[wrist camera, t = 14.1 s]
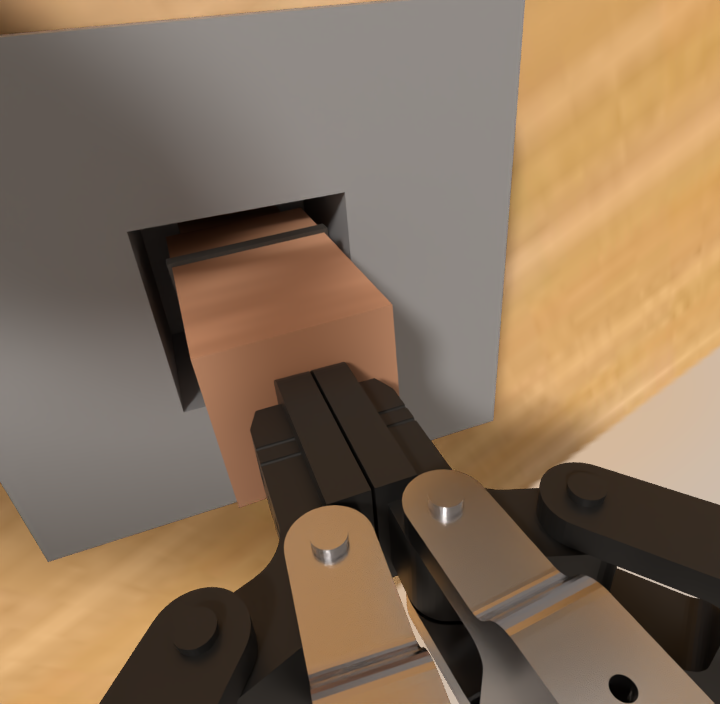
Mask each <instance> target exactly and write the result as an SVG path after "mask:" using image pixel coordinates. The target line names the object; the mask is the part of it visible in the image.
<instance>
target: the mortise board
mask: <svg viewBox="0 0 720 704" xmlns="http://www.w3.org/2000/svg"><path fill="white" fill-rule="evenodd" d="M524 7H525V0H385V1H374V2H363V3H352V4H340V5H329V6H318V7H307V8H295V9H284V10H273V11H262V12H250V13H239V14H228V15H217V16H206V17H194V18H183V19H172V20H161V21H149V22H138V23H127V24H116V25H104V26H93V27H82V28H71V29H59V30H48V31H37V32H26V33H15V34H3V35H0V482H1V484H2V486H3V487H4V489H5V491H6V492H7V494H8V496H9V497H10V499H11V501H12V502H13V504H14V506H15V507H16V509H17V511H18V512H19V514H20V516H21V518H22V519H23V521H24V523H25V524H26V526H27V528H28V529H29V531H30V533H31V534H32V536H33V538H34V539H35V541H36V543H37V544H38V546H39V548H40V549H41V551H42V553H43V554H44V556H45V558H46V559H47V561H48V562H49V561H53V560H56V559H59V558H62V557H65V556H68V555H71V554H75V553H78V552H81V551H84V550H87V549H90V548H93V547H97V546H100V545H103V544H106V543H109V542H112V541H115V540H119V539H122V538H125V537H128V536H131V535H134V534H138V533H141V532H144V531H147V530H150V529H153V528H156V527H160V526H163V525H166V524H169V523H172V522H175V521H178V520H182V519H185V518H188V517H191V516H194V515H197V514H200V513H204V512H207V511H210V510H213V509H216V508H219V507H223V506H226V505H229V504H232V503H235V502H237V500H236V497H235V494H234V491H233V488H232V485H231V482H230V479H229V475H228V472H227V469H226V466H225V463H224V460H223V457H222V454H221V451H220V448H219V445H218V442H217V439H216V436H215V433H214V430H213V426H212V423H211V420H210V417H209V414H208V411H207V408H206V405H205V402H204V399H203V396H202V393H201V390H200V387H199V384H198V381H197V377H196V374H195V371H194V368H193V365H192V362H191V359H190V354H189V349H188V344H187V339H186V334H185V329H184V324H183V319H182V315H181V310H180V305H179V302H178V299H177V296H176V292H175V289H174V286H173V283H172V280H171V277H170V274H169V270H168V267H167V264H166V259H168V258H170V255H169V250H168V246H167V241H166V237H167V236H172V235H176V234H180V231H179V227H178V224H177V223H178V222H184V221H189V220H195V219H200V218H206V217H211V216H217V215H222V214H228V213H233V212H239V211H244V210H250V209H255V208H261V207H266V206H272V205H276V207H277V208H278V209H279V210H280V211H281V212H283V211H287V210H292V209H296V208H302V210H303V211H304V212H305V213H306V214H307V215H308V216H309V217H310V218H311V219H312V220H313V221H314V222H315V223H316V224H317V225H319V224H324V225H325V226H326V227H327V230H328V237H329V238H330V239H331V240H332V241H333V242H334V243H335V244H336V245H337V247H338V248H339V249H340V250H341V251H342V252H343V253H344V254H345V255H346V256H347V257H348V258H349V259H350V260H351V261H352V262H353V263H354V265H355V266H356V267H357V268H358V269H359V270H360V271H361V272H362V273H363V274H364V275H365V276H366V277H367V278H368V279H369V280H370V281H371V282H372V284H373V285H374V286H375V287H376V288H377V289H378V290H379V291H380V292H381V293H382V294H383V295H384V296H385V297H386V298H387V299H388V300H389V302H390V303H391V304H392V306H393V319H394V332H395V345H396V358H397V371H398V384H399V397H400V399H401V400H402V401H403V403H404V404H405V407H406V408H408V410H409V411H410V412H411V414H412V415H413V417H414V420H415V421H417V422H418V423H419V425H420V426H421V428H422V429H423V430H424V432H425V433H426V435H427V436H428V437H429V439H430V440H434V439H437V438H440V437H443V436H446V435H449V434H452V433H456V432H459V431H462V430H465V429H468V428H471V427H474V426H478V425H481V424H484V423H487V422H490V421H493V417H494V404H495V390H496V377H497V364H498V351H499V337H500V324H501V311H502V298H503V285H504V271H505V258H506V245H507V232H508V218H509V205H510V192H511V179H512V165H513V152H514V139H515V126H516V113H517V99H518V86H519V73H520V60H521V46H522V33H523V20H524Z"/></svg>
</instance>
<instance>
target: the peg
mask: <svg viewBox="0 0 720 704" xmlns="http://www.w3.org/2000/svg"><path fill="white" fill-rule="evenodd" d="M177 224H178V227H179V231H180V234H176V235H172V236H167V237H166V241H167V246H168V250H169V255H170V258H168V259H166V264H167V267H168V270H169V274H170V277H171V280H172V283H173V286H174V289H175V292H176V296H177V299H178V302H179V305H180V310H181V315H182V319H183V324H184V329H185V334H186V339H187V344H188V349H189V354H190V359H191V362H192V365H193V368H194V371H195V374H196V377H197V381H198V384H199V387H200V390H201V393H202V396H203V399H204V402H205V405H206V408H207V411H208V414H209V417H210V420H211V423H212V426H213V430H214V433H215V436H216V439H217V442H218V445H219V448H220V451H221V454H222V457H223V460H224V463H225V466H226V469H227V472H228V475H229V479H230V482H231V485H232V488H233V491H234V494H235V497H236V500H237V503H238V506H239V508H240V507H243V506H246V505H249V504H252V503H255V502H258V501H261V500H263V499H266V498H267V497H266V493H265V490H264V486H263V483H262V478H261V474H260V470H259V466H258V462H257V457H256V453H255V449H254V445H253V441H252V436H251V432H250V428H251V424H252V421H253V418H254V414H255V411H257V410H260V409H264V408H268V407H271V406H275V405H278V401H277V396H276V391H275V386H274V380H276V379H280V378H284V377H288V376H292V375H295V374H299V373H303V372H307V371H309V372H310V371H311V370H314V369H318V368H322V367H325V366H329V365H333V364H337V363H341V362H345V363H346V364H347V365H348V366H349V368H350V370H351V371H352V373H353V374H354V376H355V377H356V379H357V381H358V382H362V381H365V380H369V379H373V378H375V379H377V380H379V381H381V382H382V383H384V384H386V385H388V386H389V387H391V388H393V389H394V390H395V392H396V393H397V394H398V396H399V384H398V371H397V358H396V345H395V332H394V319H393V306H392V304H391V303H390V302H389V300H388V299H387V298H386V297H385V296H384V295H383V294H382V293H381V292H380V291H379V290H378V289H377V288H376V287H375V286H374V285H373V284H372V282H371V281H370V280H369V279H368V278H367V277H366V276H365V275H364V274H363V273H362V272H361V271H360V270H359V269H358V268H357V267H356V266H355V265H354V263H353V262H352V261H351V260H350V259H349V258H348V257H347V256H346V255H345V254H344V253H343V252H342V251H341V250H340V249H339V248H338V247H337V245H336V244H335V243H334V242H333V241H332V240H331V239H330V238H329V237H328V230H327V227H326V226H325V225H324V224H319V225H317V224H316V223H315V222H314V221H313V220H312V219H311V218H310V217H309V216H308V215H307V214H306V213H305V212H304V211H303V210H302V208H296V209H292V210H287V211H283V212H281V211H280V210H279V209H278V208H277V207H276V205H272V206H266V207H261V208H255V209H250V210H244V211H239V212H233V213H228V214H222V215H217V216H211V217H206V218H200V219H195V220H189V221H184V222H178V223H177Z"/></svg>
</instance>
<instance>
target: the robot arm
mask: <svg viewBox="0 0 720 704" xmlns="http://www.w3.org/2000/svg"><path fill="white" fill-rule="evenodd" d="M274 386H275V391H276V396H277V401H278V405H275V406H271V407H268V408H264V409H260V410H257V411H255V414H254V418H253V421H252V424H251V428H250V432H251V436H252V441H253V445H254V449H255V453H256V457H257V462H258V466H259V470H260V474H261V478H262V483H263V486H264V490H265V493H266V497H267V500H268V503H269V507H270V510H271V514H272V517H273V520H274V524H275V527H276V531H277V534H278V537H279V545H278V548H277V550H276V553H275V555H274V557H273V558H272V560H271V561H270V563H269V564H268V565H267V567H266V568H265V569H264V570H263V571H262V572H261V573H260V574H259V575H257V576H256V577H255V578H253V579H252V580H251V581H249V582H248V583H246V584H245V585H244V586H242V587H241V588H239V589H238V590H237V591H235V592H234V593H233V592H231V591H229V590H226V589H223V588H217V587H207V588H200V589H197V590H193V591H190V592H188V593H186V594H184V595H182V596H180V597H178V598H177V599H175V600H174V601H172V602H171V603H170V604H169V605H167V606H166V607H165V608H164V609H163V610H162V611H161V612H160V613H159V614H158V616H157V617H156V618H155V620H154V621H153V623H152V624H151V626H150V627H149V629H148V630H147V632H146V633H145V635H144V636H143V638H142V639H141V641H140V642H139V644H138V645H137V647H136V648H135V650H134V651H133V653H132V655H131V656H130V658H129V659H128V661H127V662H126V664H125V665H124V667H123V668H122V670H121V671H120V673H119V674H118V676H117V677H116V679H115V680H114V682H113V683H112V685H111V687H110V688H109V690H108V691H107V693H106V694H105V696H104V697H103V699H102V700H101V702H100V703H99V704H450V701H449V698H448V696H447V693H446V691H445V688H444V685H443V683H442V680H441V678H440V675H439V673H438V670H437V668H436V666H435V664H434V662H433V660H432V658H431V656H430V654H429V652H428V651H427V650H426V648H424V647H423V648H421V647H420V646H419V644H418V642H417V641H416V638H415V636H414V634H413V631H412V628H411V626H410V623H409V620H408V618H407V615H406V613H405V610H404V607H403V605H402V602H401V599H400V597H399V594H398V591H397V589H396V586H395V583H394V581H393V578H392V577H395V576H397V575H398V576H399V578H400V580H401V583H402V585H403V587H404V589H405V591H406V597H407V609H408V613H409V616H410V618H411V620H412V621H413V623H414V625H415V627H416V629H417V630H418V632H419V634H420V636H421V637H422V639H423V641H424V643H425V644H426V646H427V648H428V650H429V651H430V653H431V655H432V657H433V658H434V660H435V662H436V664H437V665H438V667H439V669H440V671H441V672H442V674H443V676H444V678H445V679H446V681H447V683H448V685H449V686H450V688H451V690H452V692H453V693H454V695H455V697H456V699H457V700H458V702H459V704H720V505H718V504H714V503H712V502H708V501H705V500H702V499H698V498H696V497H692V496H689V495H686V494H683V493H680V492H677V491H674V490H671V489H667V488H664V487H661V486H658V485H655V484H652V483H648V482H645V481H642V480H639V479H636V478H633V477H630V476H626V475H623V474H620V473H617V472H614V471H610V470H607V469H604V468H601V467H598V466H595V465H591V464H586V463H574V462H573V463H564V464H560V465H557V466H554V467H552V468H551V469H549V470H548V471H547V472H546V473H545V474H544V475H543V477H542V479H541V482H540V486H539V488H532V489H512V490H494V489H487V488H484V487H483V486H482V485H481V484H480V483H479V482H478V481H477V480H475V479H474V478H472V477H471V476H469V475H467V474H464V473H462V472H459V471H454V470H452V469H451V468H450V466H449V465H448V464H447V462H446V461H445V460H444V458H443V457H442V455H441V454H440V453H439V451H438V450H437V448H436V447H435V446H434V444H433V443H432V441H431V440H430V439H429V437H428V436H427V435H426V433H425V432H424V430H423V429H422V428H421V426H420V425H419V423H418V422H417V421H415V420H414V417H413V415H412V414H411V412H410V411H409V410H408V408H406V407H405V404H404V403H403V401H402V400H401V399H400V397H399V396H398V394H397V393H396V392H395V390H394V389H393V388H391V387H389V386H388V385H386V384H384V383H382V382H381V381H379V380H377V379H375V378H373V379H369V380H365V381H362V382H358V381H357V379H356V377H355V376H354V374H353V373H352V371H351V370H350V368H349V366H348V365H347V364H346V363H345V362H341V363H337V364H333V365H329V366H325V367H322V368H318V369H314V370H311V371H310V372H309V371H307V372H303V373H299V374H295V375H292V376H288V377H284V378H280V379H276V380H274ZM617 566H618V567H621V568H623V569H626V570H628V571H631V572H634V573H636V574H639V575H641V576H644V577H646V578H649V579H652V580H654V581H656V582H659V583H662V584H664V585H667V586H669V587H672V588H674V589H677V590H679V591H682V592H684V593H687V594H690V595H692V596H695V597H697V598H692V597H689V596H686V595H683V594H681V593H678V592H676V591H673V590H670V589H668V588H666V587H663V586H661V585H658V584H656V583H653V582H650V581H648V580H645V579H643V578H640V577H638V576H635V575H633V574H630V573H628V572H625V571H623V570H620V569H617ZM698 598H700V599H698Z"/></svg>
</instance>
